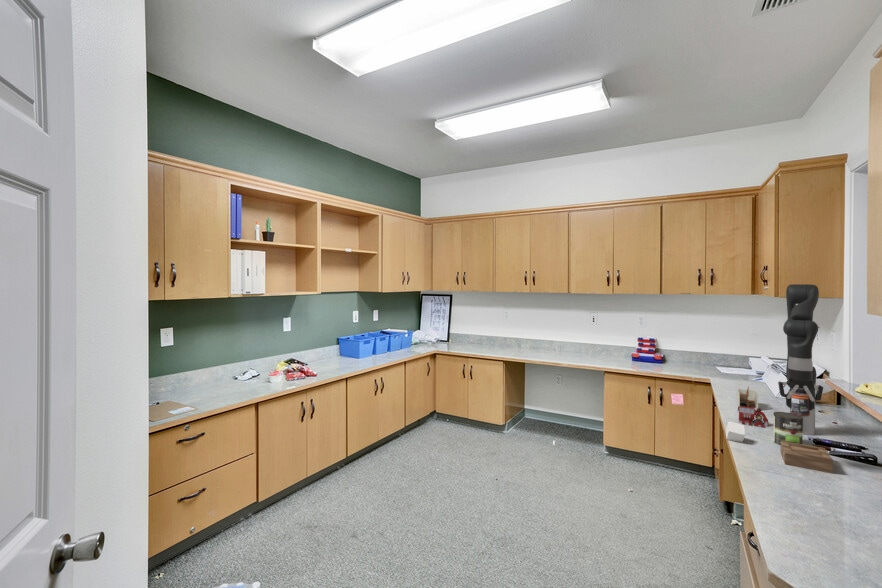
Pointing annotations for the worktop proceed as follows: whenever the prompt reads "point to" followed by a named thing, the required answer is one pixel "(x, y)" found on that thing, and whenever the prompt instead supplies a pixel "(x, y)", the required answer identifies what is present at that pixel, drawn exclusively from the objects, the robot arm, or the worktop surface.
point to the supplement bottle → (800, 403)
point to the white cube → (735, 432)
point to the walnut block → (806, 457)
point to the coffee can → (787, 428)
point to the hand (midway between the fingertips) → (799, 408)
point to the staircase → (747, 397)
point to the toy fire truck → (752, 417)
